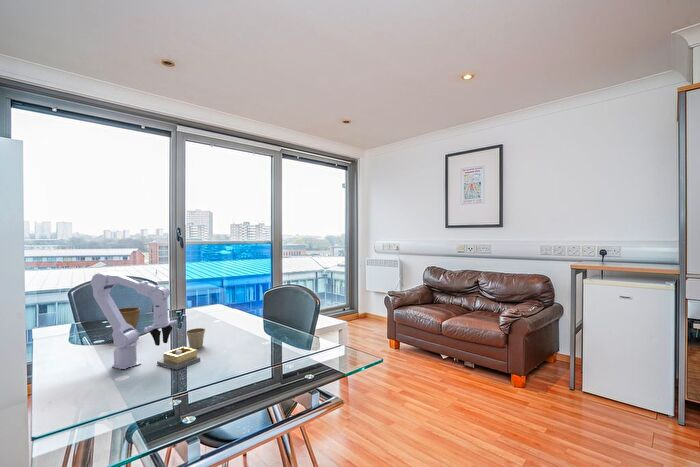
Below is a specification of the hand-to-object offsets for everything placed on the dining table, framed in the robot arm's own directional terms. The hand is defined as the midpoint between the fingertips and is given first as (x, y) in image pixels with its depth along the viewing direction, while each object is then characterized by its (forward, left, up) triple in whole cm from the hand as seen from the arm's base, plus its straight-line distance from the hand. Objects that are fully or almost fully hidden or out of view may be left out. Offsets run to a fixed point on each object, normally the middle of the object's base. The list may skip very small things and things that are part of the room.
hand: (161, 344), depth 157 cm
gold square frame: (+5, +6, -8) cm, 11 cm away
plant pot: (-60, +16, -10) cm, 63 cm away
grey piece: (+5, +5, -9) cm, 12 cm away
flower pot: (-7, +23, -10) cm, 26 cm away
